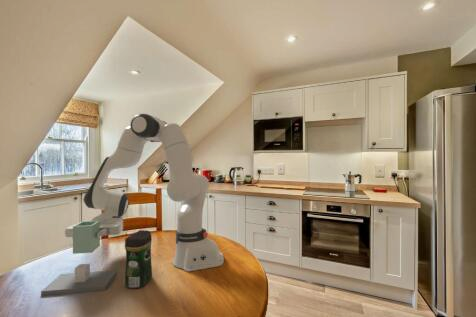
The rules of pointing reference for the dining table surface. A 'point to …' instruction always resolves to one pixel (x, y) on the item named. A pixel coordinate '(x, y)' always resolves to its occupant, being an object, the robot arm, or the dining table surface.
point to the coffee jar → (138, 259)
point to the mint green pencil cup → (85, 237)
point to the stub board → (80, 287)
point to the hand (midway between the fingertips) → (85, 236)
